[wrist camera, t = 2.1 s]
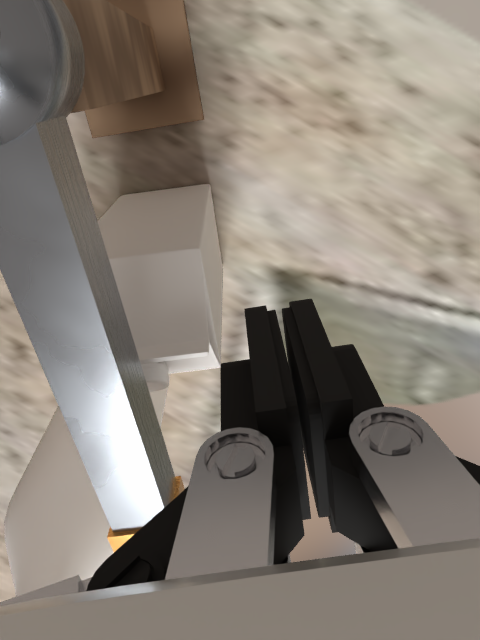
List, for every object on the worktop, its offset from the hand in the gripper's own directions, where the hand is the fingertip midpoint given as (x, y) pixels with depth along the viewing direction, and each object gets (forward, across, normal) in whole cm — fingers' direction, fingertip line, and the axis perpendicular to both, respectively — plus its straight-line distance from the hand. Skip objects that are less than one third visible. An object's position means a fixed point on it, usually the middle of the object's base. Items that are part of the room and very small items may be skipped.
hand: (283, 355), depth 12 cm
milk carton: (+27, +6, +4) cm, 28 cm away
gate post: (+26, +6, -8) cm, 28 cm away
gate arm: (+6, +6, +1) cm, 9 cm away
